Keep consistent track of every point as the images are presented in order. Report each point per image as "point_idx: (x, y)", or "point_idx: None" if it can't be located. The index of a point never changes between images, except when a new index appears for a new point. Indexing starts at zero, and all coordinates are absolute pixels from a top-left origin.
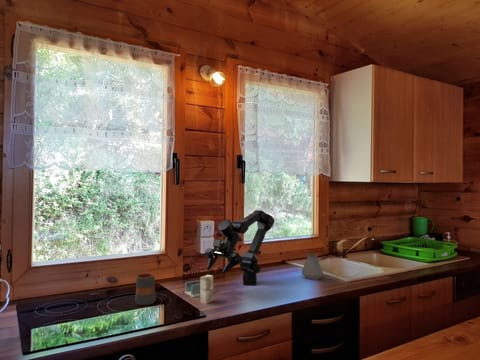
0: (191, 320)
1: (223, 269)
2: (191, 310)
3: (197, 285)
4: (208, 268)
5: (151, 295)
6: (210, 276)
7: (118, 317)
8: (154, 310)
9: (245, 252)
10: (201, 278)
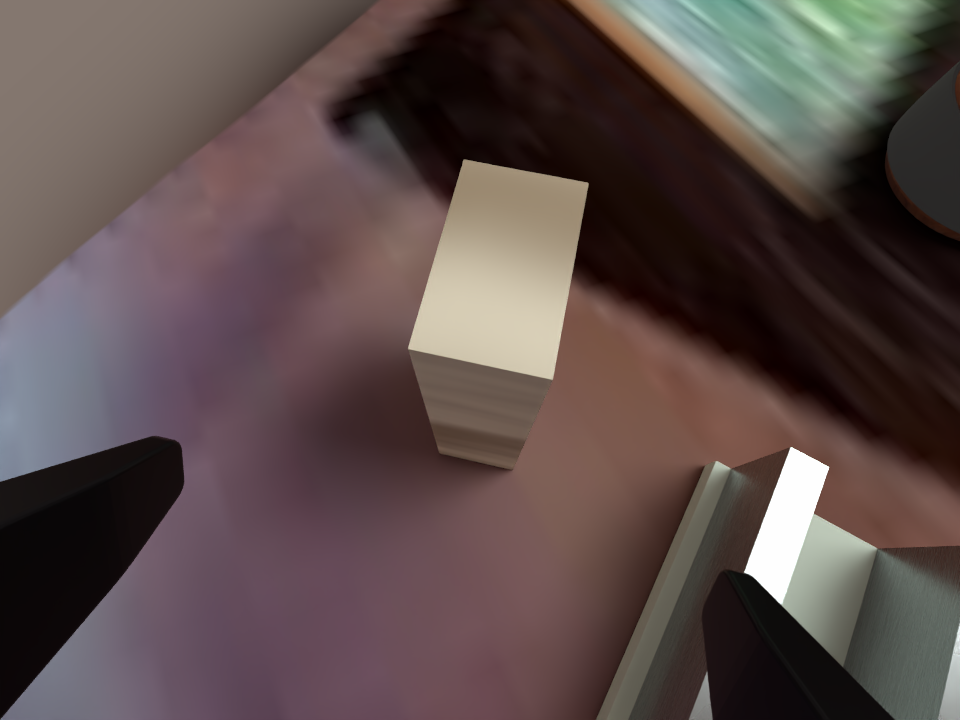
0: (393, 38)
1: (111, 471)
2: None
3: (756, 528)
4: (724, 625)
5: (940, 99)
6: (429, 280)
7: None
8: (749, 85)
9: None
10: (552, 189)
